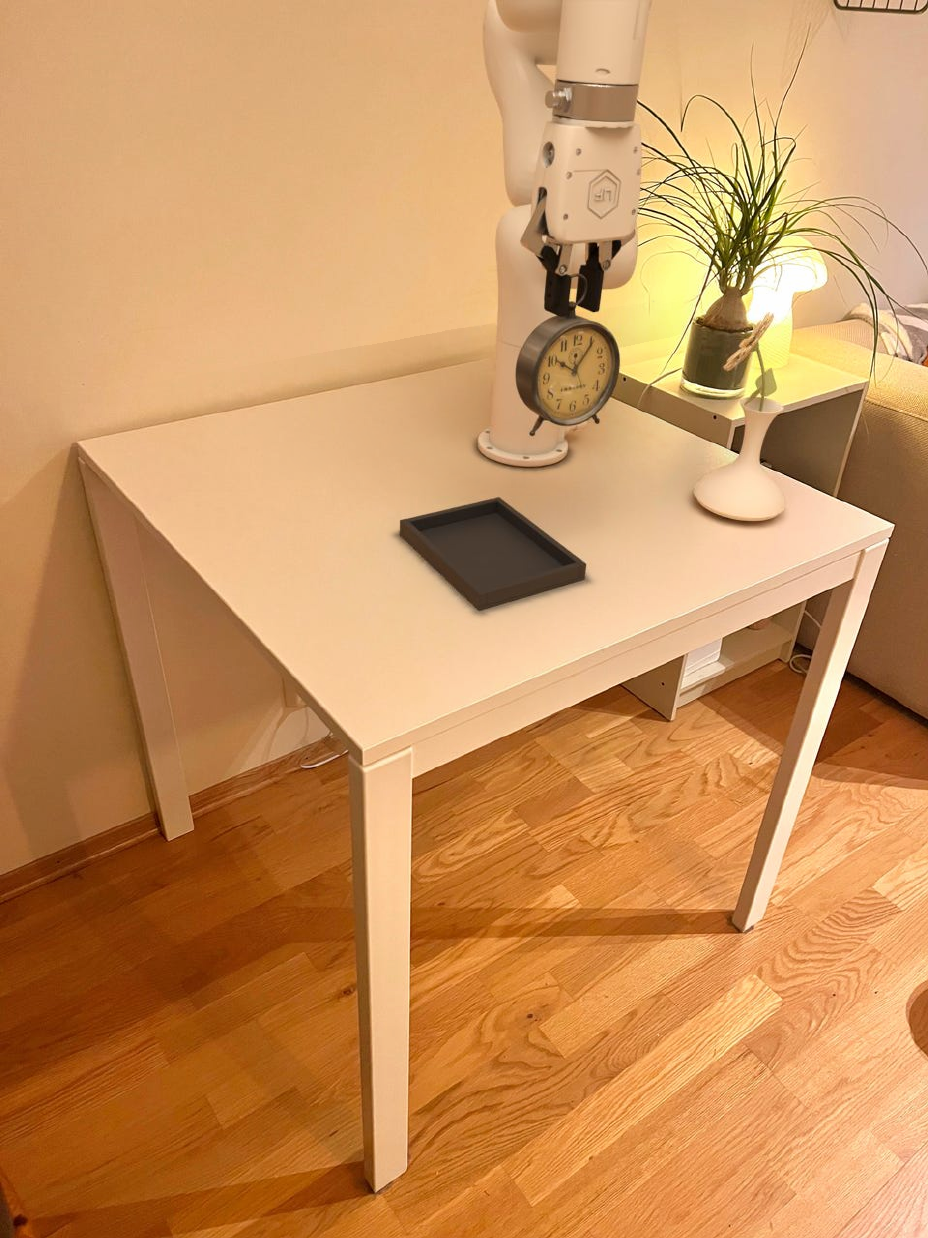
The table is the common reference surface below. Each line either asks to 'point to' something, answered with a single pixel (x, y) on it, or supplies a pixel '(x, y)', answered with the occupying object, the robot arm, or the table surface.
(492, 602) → the tray
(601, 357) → the alarm clock
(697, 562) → the table surface
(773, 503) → the flower in vase
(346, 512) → the table surface
